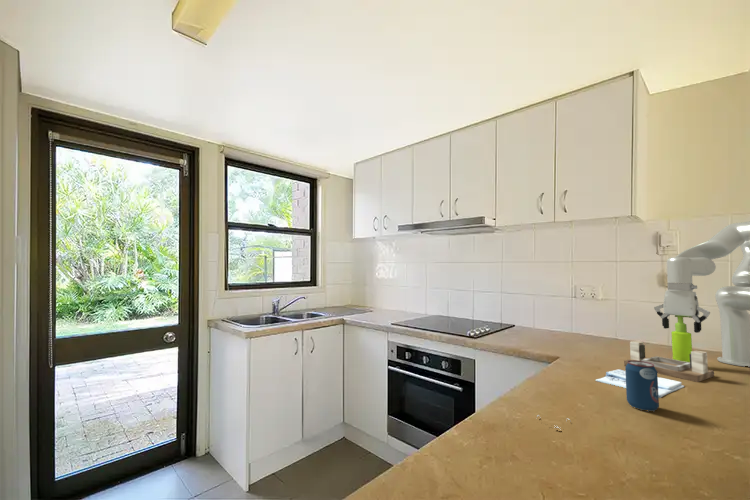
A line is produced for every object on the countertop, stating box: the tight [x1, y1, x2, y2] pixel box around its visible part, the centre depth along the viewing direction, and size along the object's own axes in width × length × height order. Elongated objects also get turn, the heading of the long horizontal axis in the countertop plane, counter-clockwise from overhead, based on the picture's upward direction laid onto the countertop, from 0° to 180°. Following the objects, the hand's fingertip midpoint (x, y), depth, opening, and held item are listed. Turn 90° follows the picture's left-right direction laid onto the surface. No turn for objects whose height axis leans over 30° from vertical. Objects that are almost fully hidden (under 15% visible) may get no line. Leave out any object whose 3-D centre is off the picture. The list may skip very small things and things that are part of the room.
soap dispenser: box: [671, 315, 693, 362], centre depth 133 cm, size 6×7×20 cm
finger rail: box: [623, 340, 715, 383], centre depth 126 cm, size 14×22×9 cm, turn 28°
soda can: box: [624, 359, 660, 412], centre depth 92 cm, size 7×7×12 cm
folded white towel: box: [595, 368, 685, 399], centre depth 111 cm, size 19×20×2 cm
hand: (681, 330), depth 134 cm, fingers open, 9 cm apart
